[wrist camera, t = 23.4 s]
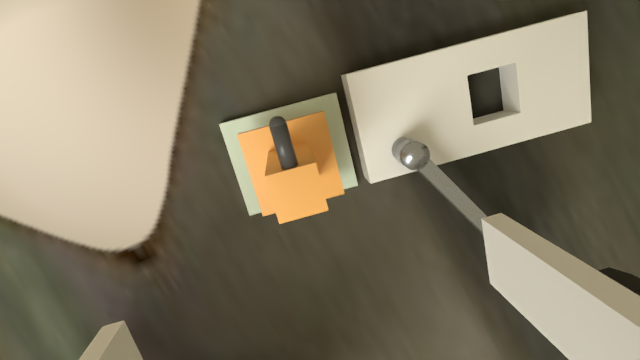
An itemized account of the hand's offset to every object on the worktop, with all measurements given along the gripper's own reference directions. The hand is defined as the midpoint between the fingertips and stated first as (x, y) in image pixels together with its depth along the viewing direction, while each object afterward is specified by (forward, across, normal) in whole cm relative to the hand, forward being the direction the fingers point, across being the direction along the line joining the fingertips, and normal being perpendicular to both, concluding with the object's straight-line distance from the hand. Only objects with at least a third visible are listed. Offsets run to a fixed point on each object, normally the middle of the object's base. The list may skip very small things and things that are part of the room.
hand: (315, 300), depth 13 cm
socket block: (+27, +19, +1) cm, 33 cm away
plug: (+26, 0, 0) cm, 26 cm away
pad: (+27, 0, 0) cm, 27 cm away
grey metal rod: (+22, +16, -10) cm, 29 cm away
